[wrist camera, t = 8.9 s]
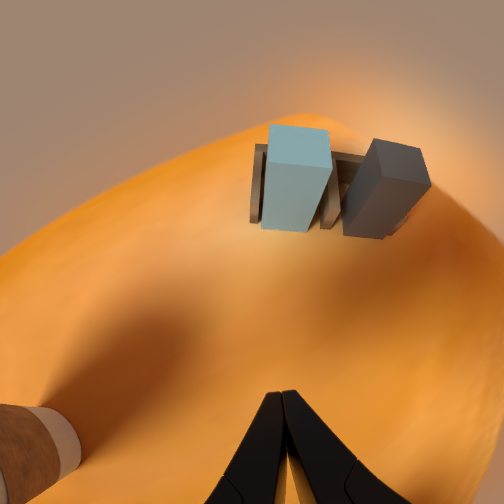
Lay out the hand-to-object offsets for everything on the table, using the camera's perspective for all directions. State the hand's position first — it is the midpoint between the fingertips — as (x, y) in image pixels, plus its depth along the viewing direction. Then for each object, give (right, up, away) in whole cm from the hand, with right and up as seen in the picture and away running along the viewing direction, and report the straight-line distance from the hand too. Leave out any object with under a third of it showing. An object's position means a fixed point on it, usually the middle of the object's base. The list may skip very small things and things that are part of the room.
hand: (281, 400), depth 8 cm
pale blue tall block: (+2, +7, +15) cm, 17 cm away
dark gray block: (+8, +7, +15) cm, 18 cm away
